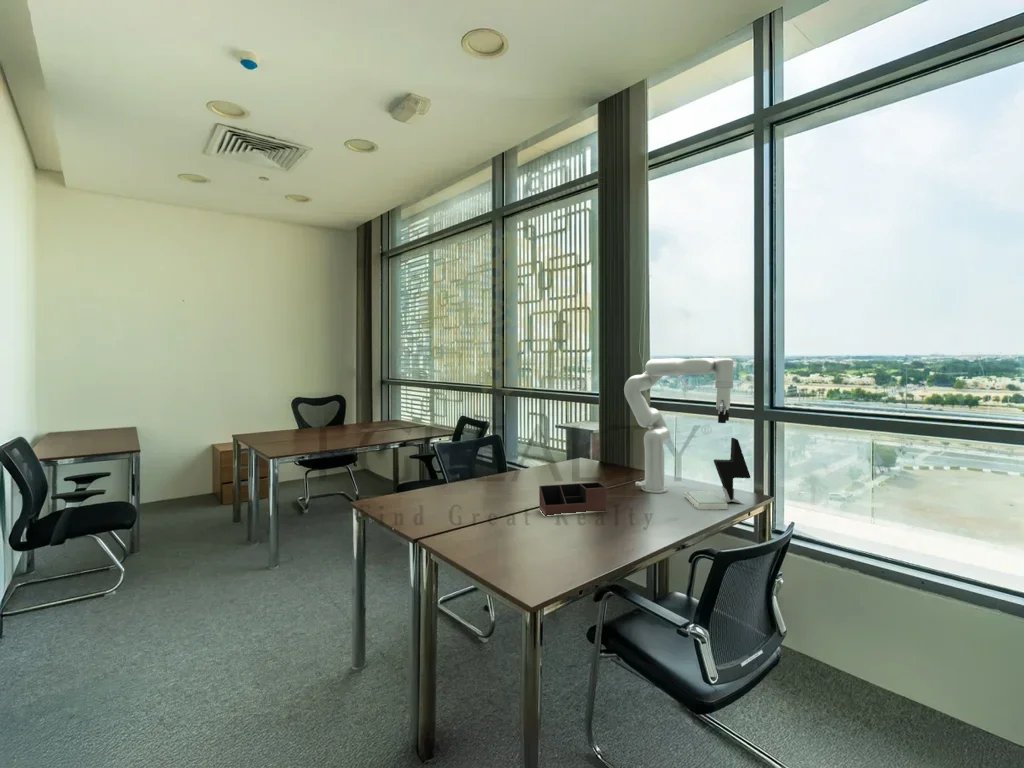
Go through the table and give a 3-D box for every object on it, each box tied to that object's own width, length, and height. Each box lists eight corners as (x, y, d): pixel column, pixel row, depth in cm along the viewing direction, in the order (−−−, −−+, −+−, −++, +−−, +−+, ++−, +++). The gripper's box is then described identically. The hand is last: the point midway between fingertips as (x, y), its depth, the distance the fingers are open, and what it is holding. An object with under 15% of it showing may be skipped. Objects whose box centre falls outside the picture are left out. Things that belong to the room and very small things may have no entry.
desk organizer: (608, 512, 215) (608, 487, 214) (544, 517, 209) (543, 491, 209) (599, 505, 225) (599, 481, 225) (538, 510, 220) (537, 485, 219)
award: (746, 500, 229) (747, 437, 227) (750, 504, 224) (751, 439, 222) (712, 500, 230) (713, 437, 229) (716, 503, 225) (717, 439, 223)
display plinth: (697, 509, 217) (698, 502, 217) (684, 497, 236) (684, 491, 236) (727, 509, 216) (727, 502, 216) (712, 497, 235) (712, 491, 235)
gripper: (718, 383, 235) (717, 419, 236) (712, 386, 221) (711, 423, 222) (735, 384, 232) (734, 420, 233) (730, 386, 217) (729, 424, 218)
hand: (723, 421), depth 227 cm, fingers open, 9 cm apart
